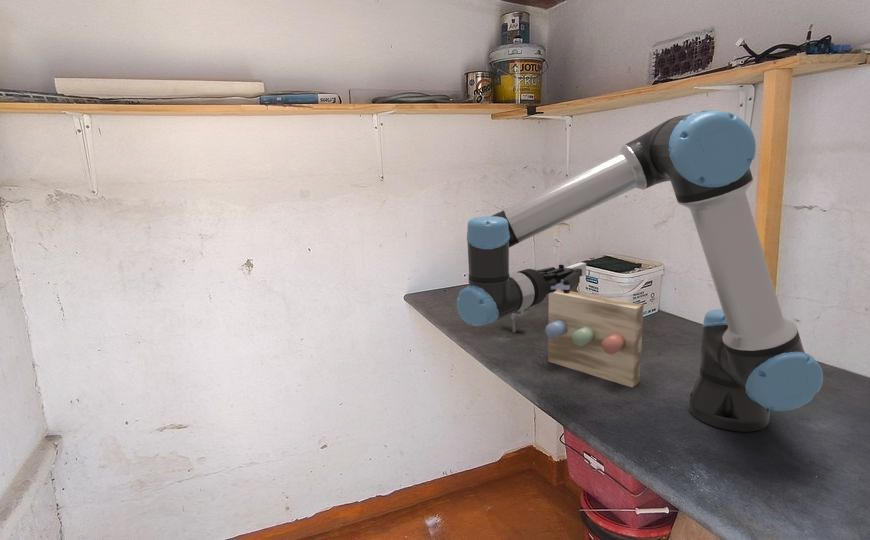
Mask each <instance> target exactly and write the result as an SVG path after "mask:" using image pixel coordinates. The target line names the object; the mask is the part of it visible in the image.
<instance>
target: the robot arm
mask: <svg viewBox="0 0 870 540" xmlns="http://www.w3.org/2000/svg"><path fill="white" fill-rule="evenodd" d="M756 146H757V145H756V138H755V135H754V132H753V131H752V128H750V126H749V125H748V123H747V122H745V121H744V119H742V118H741V117H739V116H737V115H735V114H733V113H730V112H727V111H725V110H724V111H723V110H713V109H709V110H701V111H697V112H693V113H692V112H691V113H689V114H684V115H679V116H673V117H671V118H669V119H666V120H665V121H663V122H662V123H660V124H658V125H657V126H654V127H653V128H652V129H650V130H648V131H647V132H645V133H643V134H642V135H640V136H638V137H636V138H635V139H633V140H631V141H629V142H628V143H627V142H626V143H625V144H623V145H622V146H621V149H620V150H619V152H618V153H617V154H614V155H612V156H610V157H609V158H606V159H604V160H602V161H600V162H598V163H596V164H594V165H592V166H590V167H589V168H586V169H584V170H582V171H580V172H577V173H576V174H574V175H571V176H570V177H567V178H566V179H563V180H562V181H559V182H557V183H555V184H554V185H552V186H549V187H548V188H545V189H543V190H541V191H539V192H537V193H535V194H533V195H531V196H529V197H526V198H525V199H523V200H521V201H519V202H517V203H514V204H513V205H511V206H508V207H506V208H504V209H503V210H501V211H498V212H497V213H494V214H492V215H491V216H490V215H489V216H478V217H473V218H471V219H469V220H468V222H467V232H466V241H467V258H468V259H467V260H468V286H466V287H464V288H462V289H461V290H460V292H459V293H458V296H457V298H456V308H457V312H458V314H459V316H460V317H461V319H462V320H463V321H464V322H465V323H466V324H468V325H471V326H472V327H481V326H484V325H488V324H492V323H495V322H496V321H499V320H500V319H502V318H505V317H508V316H511V314H512V315H514V314H515V312H518V311H519V312H521V311H520V310H523V309H526V308H528V307H529V308H531V307H533V306H536V305H538V304H541V303H542V302H543V301H544V299H545V298H546V297H547V295H549V293H553V292H555V291H556V289H561V291H563V293H566V294H567V293H570V291H571V290H572V289H573V288H575V286H577V285H578V284H580V281H581V278H580V277H584V276H585V275H587V262H578V263H574V264H572V265H568V266H565V265H564V264H558V268H556V267H553V266H551V267H547V268H542V269H534V268H526V269H523V270H519V271H516V272H515V271H514V272H512V273H510V248H512V247H514V246H515V245H517V244H520V243H521V242H523V241H526V240H528V239H530V238H533V237H534V236H537V235H538V234H540V233H543V232H544V231H547V230H550V229H551V228H553V227H556V226H558V225H560V224H562V223H564V222H566V221H568V220H570V219H572V218H574V217H577V216H578V215H580V214H583V213H585V212H587V211H590V210H591V209H594V208H596V207H598V206H600V205H603V204H604V203H607V202H608V201H611V200H613V199H616V198H617V197H619V196H621V195H623V194H625V193H628V192H629V191H632V190H635V189H638V190H642V191H645V190H646V189H648V188H650V187H652V186H655V185H658V184H661V183H665V182H670V183H671V186H672V190H673V191H674V195H675V200H676V202H677V204H679V205H681V206H684V207H686V208H688V209H689V210H690V213H691V216H692V220H693V223H694V225H695V229H696V233H697V234H698V235H697V236H698V238H699V241H700V244H701V248H702V250H703V251H702V252H703V254H704V257H705V259H706V260H705V261H706V263H707V266H708V269H709V271H710V276H711V279H712V282H713V283H714V284H713V285H714V288H715V291H716V294H717V297H718V299H719V303H720V306H721V308H717V309H711V310H708V311H707V312H706V313H705V314H704V318H703V323H702V325H701V326H702V336H701V347H700V349H701V350H700V362H699V366H700V367H699V375H698V377H697V379H696V381H695V383H694V386H693V389H692V390H691V392H690V394H688V395H689V396H688V399H687V400H688V401H687V408H688V411H689V413H690V414H691V415H692V416H693V417H695V418H696V419H698V420H699V421H701V422H703V423H704V424H708V425H709V426H711V427H712V426H713V427H716V428H719V429H722V430H727V431H734V432H745V433H746V432H747V433H749V432H757V431H760V430H763V429H765V428H766V427H768V426H769V423H770V417H771V416H770V415H771V413H770V411H777V412H787V411H793V410H796V409H798V408H801V407H803V406H805V405H806V404H808V403H810V402H811V401H812V400H813V399H814V396H815V395H816V394H818V393H819V392H820V390H821V388H822V387H823V383H824V372H823V369H822V367H821V365H820V363H818V361H817V360H816V359H815V358H814V356H812V355H810V354H808V353H807V352H805V349H804V347H803V343H802V340H801V336H800V333H799V329H798V327H797V325H796V324H795V323H794V322H793V321H791V320H788V319H786V318H785V317H783V314H782V313H783V312H782V310H781V307H780V303H779V299H778V296H777V292H776V290H775V285H774V282H773V279H772V276H771V273H770V270H769V266H768V263H767V259H766V256H765V254H764V253H765V252H764V250H763V246H762V242H761V240H760V236H759V233H758V229H757V227H756V223H755V219H754V216H753V214H752V213H753V212H752V210H751V207H750V203H749V200H748V196H747V191H748V189H749V188H750V186H751V185H752V184H753V182H754V178H753V174H752V172H751V171H752V170H751V164H752V162H753V160H754V159H755V155H756V151H757V147H756Z"/></svg>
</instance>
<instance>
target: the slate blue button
mask: <svg viewBox="0 0 870 540" xmlns="http://www.w3.org/2000/svg"><path fill="white" fill-rule="evenodd" d="M544 331H545V333H546V336H547V338H548V337H550V338H552V339H555V338H557V337H559V336H561V335H563V334H565V333H566V332H567V326H566V324H565V323H564V322H563V321H562V320H557V321H555V322H553V323H550V324H547V325H546V326H545V329H544Z"/></svg>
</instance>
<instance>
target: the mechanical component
mask: <svg viewBox="0 0 870 540" xmlns="http://www.w3.org/2000/svg"><path fill="white" fill-rule="evenodd" d="M529 309H530V307H528V308H526V309H523V310H520V311H518V312H515V314H514V315H512V314H510V319H511V320H512V326H511V327H512V333H516V332H518V319H520V317H522V316H525V315H527V314H528V312H529Z"/></svg>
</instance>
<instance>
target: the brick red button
mask: <svg viewBox="0 0 870 540" xmlns="http://www.w3.org/2000/svg"><path fill="white" fill-rule="evenodd" d="M624 347H625V339H624V338H623V336H621V335H620V334H613V335H611V336H609V337H607V338H605V339H604V340H603V341H602V348H603V350H604V351H605V352H606V353H608V354H614V353H616V352H618V351H619V350H621V349H623V348H624Z"/></svg>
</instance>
